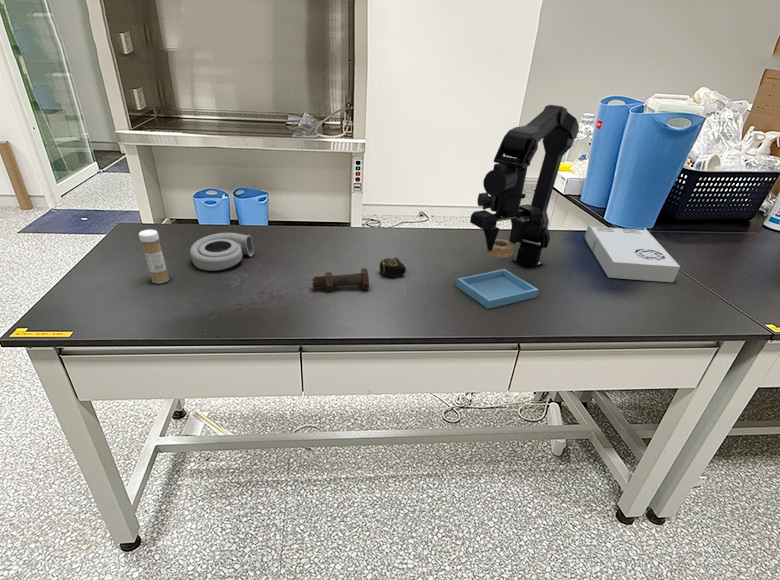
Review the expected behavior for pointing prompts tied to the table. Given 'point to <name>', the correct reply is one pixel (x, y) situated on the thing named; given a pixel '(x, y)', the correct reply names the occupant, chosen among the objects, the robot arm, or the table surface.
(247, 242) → the turbocharger housing
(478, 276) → the tray
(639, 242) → the power supply unit
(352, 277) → the bolt
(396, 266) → the tape measure
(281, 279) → the table surface
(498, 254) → the wooden ring
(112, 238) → the table surface
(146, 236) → the sprinkles bottle
